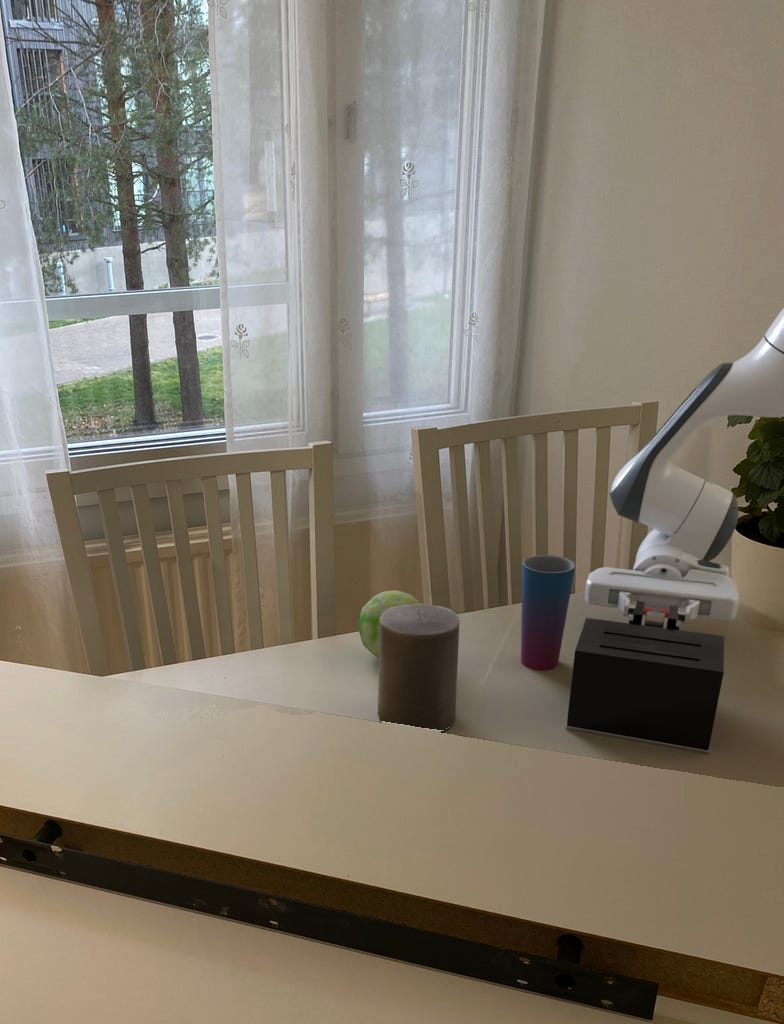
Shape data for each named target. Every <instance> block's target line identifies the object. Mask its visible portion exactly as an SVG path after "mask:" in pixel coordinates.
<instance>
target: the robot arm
mask: <svg viewBox="0 0 784 1024" xmlns="http://www.w3.org/2000/svg"><path fill="white" fill-rule="evenodd" d="M725 416H726V417H727V416H748V417H757V418H758V417H759V418H783V417H784V307H783V308H782V309H781V310H780V312H779V313H778V314H777V316H776V318H775V319H774V320H773V322H772V323H771V325H770V326H769V327H768V329H767V330H766V332H765V334H764V335H763V337H762V338H761V339H760V341H759V343H758V344H757V345H756V346H754V348H753V349H751V351H749V352H748V353H747V354H746V355H744V356H743V357H741V358H740V359H737V360H735V361H734V362H723V363H720V364H719V365H718V366H716V367H715V368H713V369H712V370H710V372H709V373H707V375H706V376H705V377H704V378H703V379H702V380H701V381H700V382H699V383H698V384H697V385H696V386H695V388H694V389H692V391H691V392H690V393H689V394H688V395H687V397H686V398H684V400H683V401H682V402H681V403H680V404H679V406H678V407H677V408H676V409H675V410H674V411H673V413H672V414H671V415H670V416H669V417H668V419H667V420H666V421H665V422H664V423H663V424H662V425H661V427H660V428H658V430H657V431H656V433H655V434H654V435H653V436H652V437H651V438H650V439H649V441H648V442H647V443H646V444H645V445H644V446H643V447H642V449H641V450H640V451H638V453H637V454H636V455H635V456H634V457H632V458H631V459H630V460H629V461H628V462H627V463H626V464H625V465H624V466H623V467H622V468H621V469H620V470H619V472H618V473H617V474H616V475H615V477H614V479H613V482H612V485H611V488H610V491H609V496H610V500H611V504H612V506H613V508H614V510H615V512H616V514H617V515H618V516H620V517H622V518H625V519H627V520H630V521H633V522H635V523H638V524H639V523H640V524H642V525H645V526H647V527H648V528H650V529H651V531H649V533H648V534H647V535H646V536H645V538H644V539H643V540H642V542H641V543H640V545H639V547H638V549H637V553H636V556H635V562H634V564H633V567H632V569H627V568H620V567H619V568H618V567H607V566H606V567H604V566H603V567H599V568H596V569H594V570H593V571H591V572H589V574H588V576H587V580H586V583H585V591H584V601H585V602H586V603H587V604H588V605H591V606H598V607H599V606H600V607H607V608H615V609H619V610H620V611H622V612H623V617H628V618H630V614H633V615H634V611H635V607H636V603H637V601H642V602H645V606H644V607H648V608H656V609H664V610H669V608H670V605H673V606H678V618H677V620H680V621H681V622H680V624H683V625H684V624H685V625H689V623H690V621H692V620H694V619H701V620H710V621H711V620H712V621H717V622H726V623H727V622H728V623H729V622H733V621H734V620H735V619H736V616H737V612H738V607H739V603H740V595H739V594H740V593H739V590H738V589H739V588H738V586H737V584H736V582H735V580H734V579H733V578H731V577H730V568H729V566H727V565H725V564H721V563H718V562H713V560H715V559H716V558H717V556H719V554H721V553H722V552H723V550H724V549H725V548H726V546H727V544H728V543H729V541H730V539H731V538H732V536H733V534H734V533H735V529H736V527H737V524H738V521H739V516H740V511H738V510H739V504H738V500H737V497H736V495H735V493H734V492H731V491H730V490H728V489H726V488H724V487H722V486H720V485H718V484H716V483H713V482H711V481H709V480H707V479H704V478H701V477H699V476H697V475H695V474H693V473H691V472H689V471H687V470H684V469H682V468H681V467H679V466H677V465H674V464H673V463H672V462H671V459H672V458H674V457H675V455H676V454H677V453H678V452H679V450H680V449H682V447H683V446H684V445H685V444H686V443H687V442H688V441H689V439H690V438H691V437H692V436H693V435H694V434H695V432H697V430H698V429H699V428H701V426H702V425H703V424H705V423H706V422H708V421H710V420H713V419H715V418H719V417H725ZM733 494H734V495H733ZM732 507H735V508H738V509H732Z"/></svg>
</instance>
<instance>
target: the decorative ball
mask: <svg viewBox="0 0 784 1024" xmlns="http://www.w3.org/2000/svg"><path fill="white" fill-rule="evenodd" d="M408 604H411V605H412V604H421V603H420V601H418V600H417V598H415V597H414V596H413V595H412V594H410V593H407V592H403V591H400V590H385V591H381V592H380V593H377V594H376V595H374V596H373V597H372V598H371V599H370V600H369V601H367V602H366V604H365V605H363V607H362V608H361V611H360V615H359V621H358V631H359V636H360V639H361V642H362V645H363V647H365V649H366V650H368V651H369V652H370V653H371V654H372V655H373V656H375V657H376V658H379V628H380V616H381V615H382V614H383V612H385V611H387V609H388V608H390V607H396V606H401V605H408Z"/></svg>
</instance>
